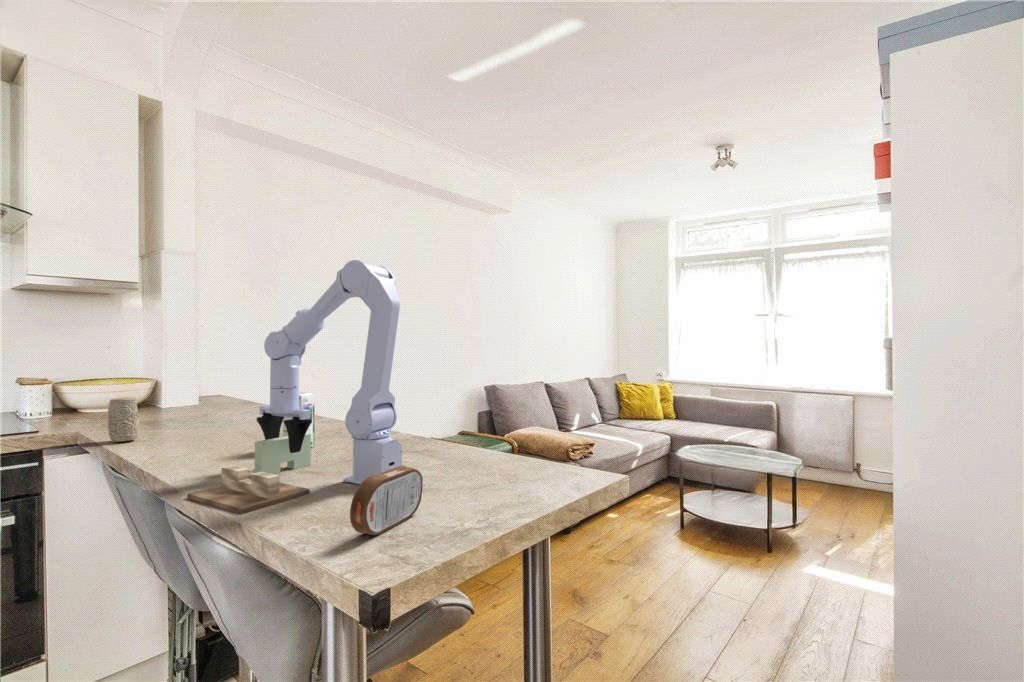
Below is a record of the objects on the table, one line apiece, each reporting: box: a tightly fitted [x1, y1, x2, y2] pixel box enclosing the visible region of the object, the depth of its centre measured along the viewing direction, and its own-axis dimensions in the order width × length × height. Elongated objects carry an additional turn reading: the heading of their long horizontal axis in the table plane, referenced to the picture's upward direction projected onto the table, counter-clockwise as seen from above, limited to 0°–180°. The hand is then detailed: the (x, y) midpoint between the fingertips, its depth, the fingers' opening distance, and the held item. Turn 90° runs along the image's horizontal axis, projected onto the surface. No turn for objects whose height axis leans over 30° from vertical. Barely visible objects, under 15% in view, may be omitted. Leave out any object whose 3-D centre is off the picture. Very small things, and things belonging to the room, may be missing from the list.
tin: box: [349, 464, 424, 536], centre depth 77 cm, size 15×3×8 cm, turn 156°
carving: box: [107, 396, 140, 443], centre depth 139 cm, size 6×8×12 cm
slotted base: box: [186, 464, 311, 515], centre depth 91 cm, size 16×13×4 cm
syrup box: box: [281, 391, 316, 448], centre depth 131 cm, size 6×6×14 cm
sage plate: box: [254, 433, 312, 475], centre depth 110 cm, size 12×2×7 cm, turn 150°
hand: (283, 450), depth 110 cm, fingers open, 7 cm apart
